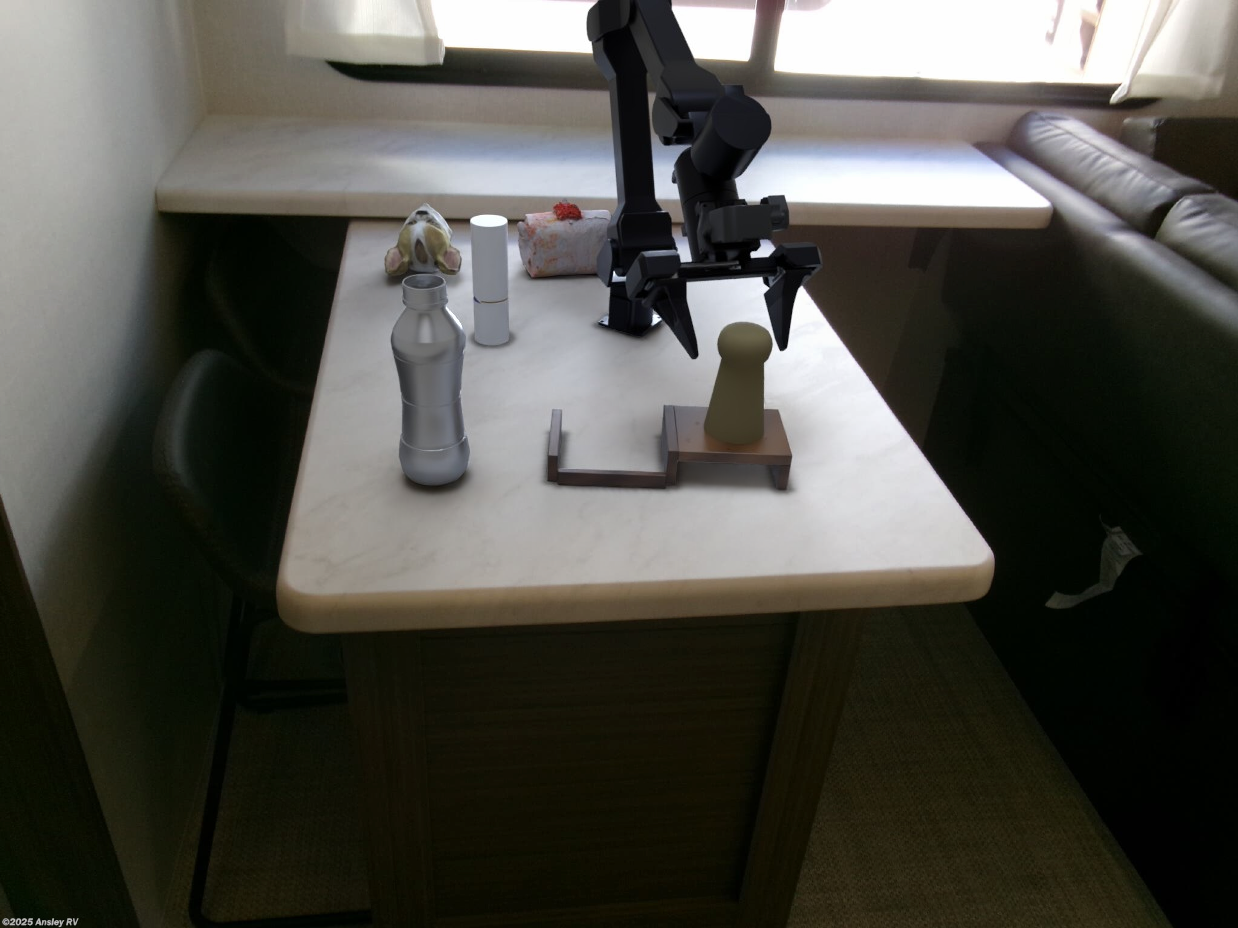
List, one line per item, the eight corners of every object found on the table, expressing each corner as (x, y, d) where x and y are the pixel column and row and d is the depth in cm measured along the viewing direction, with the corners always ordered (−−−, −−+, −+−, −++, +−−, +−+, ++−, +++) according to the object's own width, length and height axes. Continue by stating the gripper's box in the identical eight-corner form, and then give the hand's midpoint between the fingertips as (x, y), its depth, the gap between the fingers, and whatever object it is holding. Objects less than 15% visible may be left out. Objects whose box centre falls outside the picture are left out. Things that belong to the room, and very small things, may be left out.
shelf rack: (547, 484, 92) (547, 449, 90) (552, 433, 100) (552, 400, 98) (787, 492, 93) (793, 458, 91) (773, 441, 101) (778, 409, 99)
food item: (525, 282, 134) (524, 214, 129) (516, 261, 141) (515, 196, 135) (618, 277, 137) (621, 210, 132) (605, 257, 144) (608, 193, 139)
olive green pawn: (772, 442, 93) (788, 340, 87) (712, 446, 92) (725, 342, 86) (753, 411, 98) (767, 313, 92) (696, 414, 97) (707, 315, 91)
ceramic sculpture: (461, 192, 139) (458, 233, 127) (464, 248, 144) (462, 292, 132) (387, 192, 137) (377, 233, 125) (393, 248, 142) (384, 293, 130)
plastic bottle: (404, 457, 95) (387, 267, 84) (472, 457, 95) (465, 268, 84) (397, 494, 89) (378, 296, 78) (469, 494, 90) (461, 297, 79)
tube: (515, 335, 120) (514, 219, 111) (498, 348, 116) (495, 229, 108) (486, 328, 121) (482, 212, 113) (468, 340, 118) (463, 222, 110)
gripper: (642, 165, 84) (673, 333, 81) (831, 159, 89) (867, 316, 86) (612, 223, 94) (639, 372, 92) (783, 214, 99) (813, 356, 97)
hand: (740, 354), depth 91 cm, fingers open, 9 cm apart
